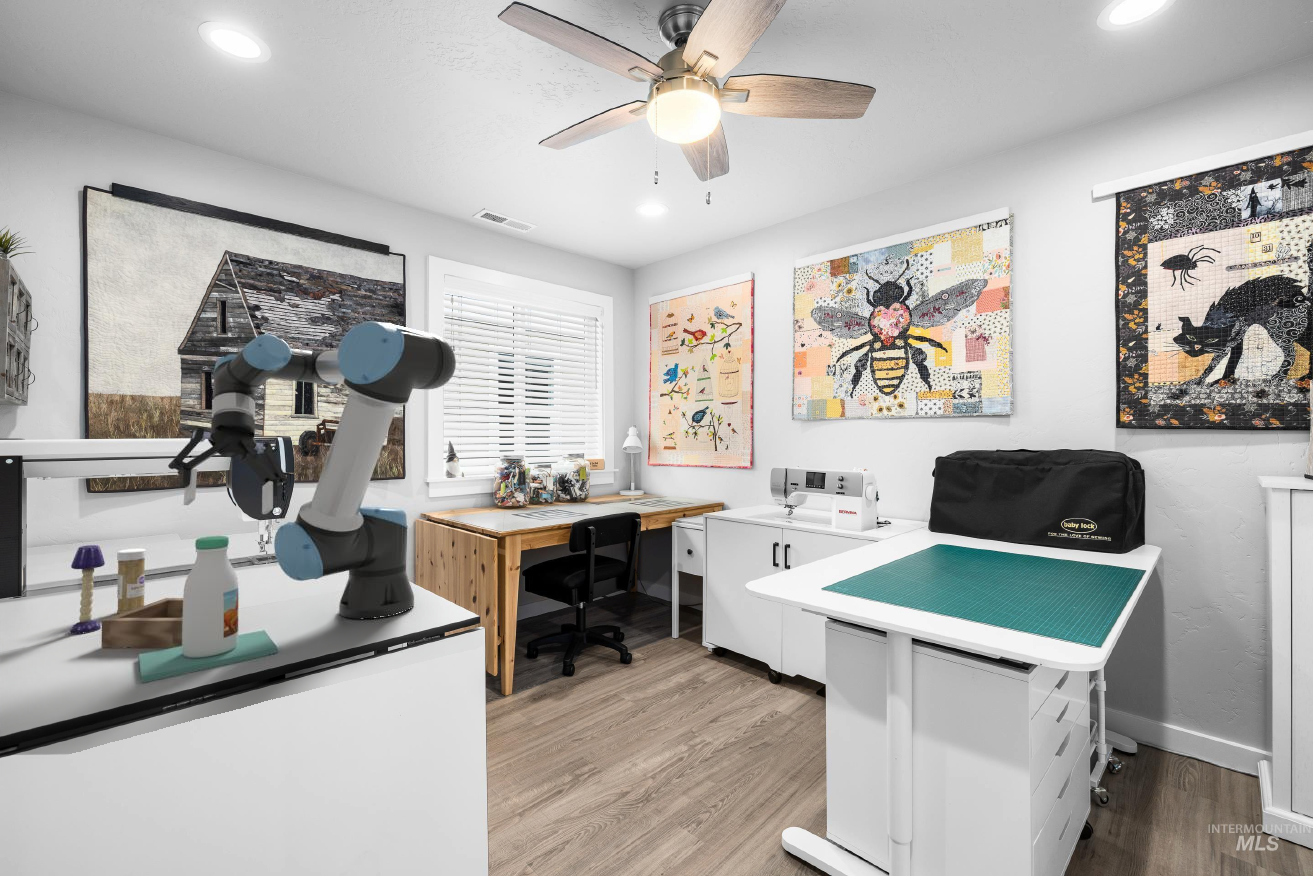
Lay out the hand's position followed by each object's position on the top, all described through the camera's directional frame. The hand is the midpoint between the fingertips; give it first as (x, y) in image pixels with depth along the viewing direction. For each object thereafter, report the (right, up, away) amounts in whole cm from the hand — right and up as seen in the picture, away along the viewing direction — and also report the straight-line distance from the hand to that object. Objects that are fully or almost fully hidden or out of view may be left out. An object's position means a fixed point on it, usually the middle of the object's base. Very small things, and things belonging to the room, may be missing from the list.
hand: (230, 507), depth 112 cm
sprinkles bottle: (-30, -24, +10) cm, 40 cm away
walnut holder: (-9, -25, -3) cm, 26 cm away
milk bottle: (+6, -24, -13) cm, 28 cm away
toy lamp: (-27, -24, -2) cm, 37 cm away
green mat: (+6, -25, -13) cm, 29 cm away
